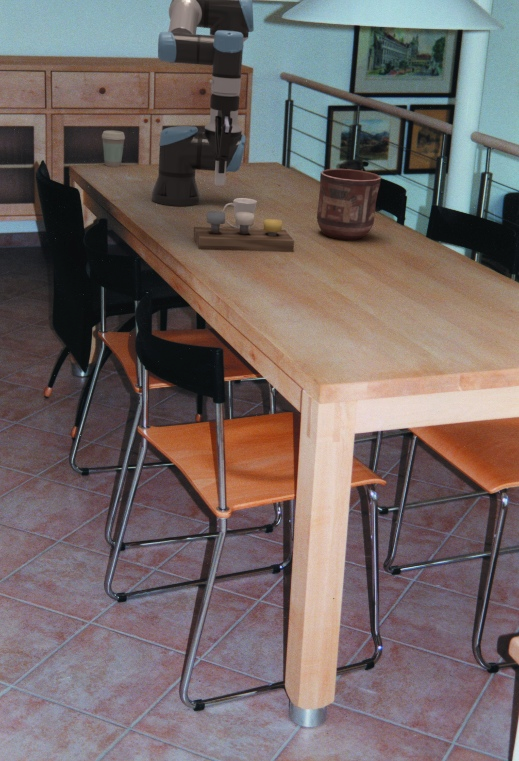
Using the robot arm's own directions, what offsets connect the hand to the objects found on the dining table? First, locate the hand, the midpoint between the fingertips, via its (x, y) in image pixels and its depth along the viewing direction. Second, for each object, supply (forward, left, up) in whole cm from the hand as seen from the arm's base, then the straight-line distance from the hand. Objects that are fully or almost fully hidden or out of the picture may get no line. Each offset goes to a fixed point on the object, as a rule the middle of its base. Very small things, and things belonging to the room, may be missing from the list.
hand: (219, 184), depth 263 cm
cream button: (0, +7, -13) cm, 15 cm away
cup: (-19, +10, -17) cm, 27 cm away
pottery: (-14, +41, -17) cm, 46 cm away
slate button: (0, 0, -13) cm, 13 cm away
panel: (0, +8, -16) cm, 18 cm away
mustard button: (0, +15, -15) cm, 21 cm away
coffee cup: (-107, -22, -17) cm, 111 cm away
